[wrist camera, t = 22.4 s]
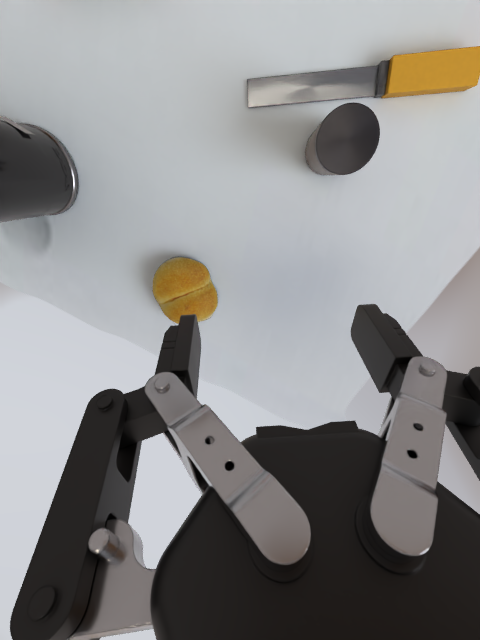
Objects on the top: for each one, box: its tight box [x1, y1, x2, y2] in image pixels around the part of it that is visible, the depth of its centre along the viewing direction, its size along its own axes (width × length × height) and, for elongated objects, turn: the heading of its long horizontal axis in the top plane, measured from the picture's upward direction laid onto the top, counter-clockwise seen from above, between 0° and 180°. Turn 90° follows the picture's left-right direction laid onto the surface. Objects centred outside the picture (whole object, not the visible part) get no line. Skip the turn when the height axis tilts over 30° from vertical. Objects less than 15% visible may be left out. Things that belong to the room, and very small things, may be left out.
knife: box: [247, 46, 480, 108], centre depth 26 cm, size 20×3×2 cm, turn 93°
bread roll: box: [153, 257, 218, 323], centre depth 36 cm, size 8×9×4 cm
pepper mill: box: [305, 103, 380, 175], centre depth 25 cm, size 5×5×9 cm
